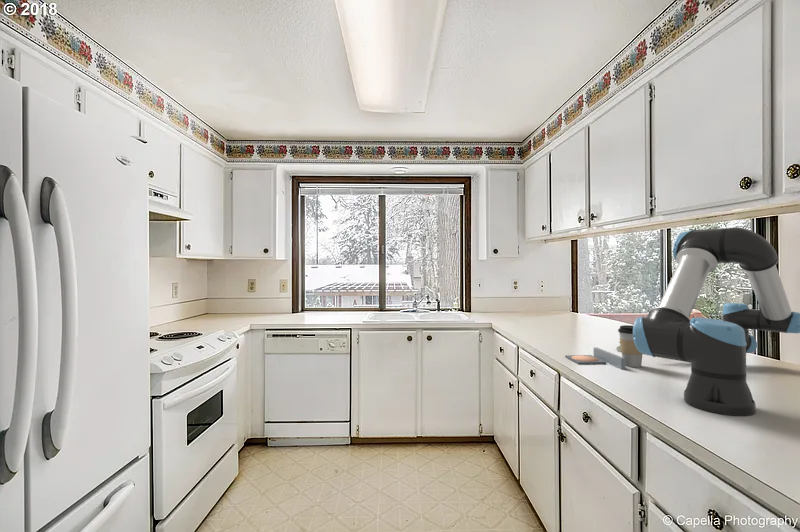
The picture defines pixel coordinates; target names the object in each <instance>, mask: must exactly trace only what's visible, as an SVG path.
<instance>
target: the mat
mask: <svg viewBox="0 0 800 532" xmlns="http://www.w3.org/2000/svg"><path fill="white" fill-rule="evenodd" d="M565 357H566V359H567V358H568V359H567V360H569V359H570V361H572V362H573V363H575V364H576V365H607V363H606V362H605V361H603V360H601V359H598V358H596V357H594V355H592V354H577V355H575V354H573V355H571V354H569V355H567V354H566V355H564V358H565Z"/></svg>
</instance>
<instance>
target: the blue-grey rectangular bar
mask: <svg viewBox="0 0 800 532" xmlns="http://www.w3.org/2000/svg"><path fill="white" fill-rule="evenodd" d="M593 356H594V357H596V358H598V359H601V360H603V361H605V362H607V363H606V364H608V363H609V364H608V365H610V366H613V367H615V368H617V369H619V368H620V370H626V366H625V358H623V357H622V356H620V355H617V354H615V353H612V352H610V351H607V350H604V349H602V348H600V347H593Z"/></svg>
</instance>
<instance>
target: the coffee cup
mask: <svg viewBox="0 0 800 532" xmlns="http://www.w3.org/2000/svg"><path fill="white" fill-rule="evenodd" d="M617 332H618V333H619V342H620V344H619V346H621V352H620V353H621V357H623V358H625V367H627V366H628V367H629V368H635V367H637V368H641V367H642V362H643V355H644V354H642V353H640V352H639V351H638V350H637V348H636V346H635V343H634V340H633V325H628V324H627V325H626V324H625V325H619V328H618V329H617Z"/></svg>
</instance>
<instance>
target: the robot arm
mask: <svg viewBox="0 0 800 532" xmlns="http://www.w3.org/2000/svg"><path fill="white" fill-rule="evenodd" d="M672 255H673V258H674V260H675V261H676V263H677V266H676V268H675V270H674V272H673V275H672V276H671V278H670V281H668V282H669V283H668V284H667V287H666V289H665V291H664V293H663V295H662V297H661V300H660V302H659V304H658V305H657V307H653V308H652V309H650V310H649V312H648V314H647V316H646V317H644V316H641V317H640V316H639V317H637V318H636V319H635V320H634V322H633V325H632V326H633V340H634V343H635V346H636V348H637V350H638V351H639V352H640V353H642V354H643V355H645V356H649V357H652V358H662V359H666V360H671V361H673V360H674V361H678V362H683V363H684V362H685V363H689V364H690V366H691V368H690V370H691V372H690V376H689V379H688V382H687V385H686V387H685V389H684V391H683V401H684V402H685V403H686V404H688V405H690V406H691V407H694V408H697V409H700V410H702V411H703V410H704V411H707V412H711V413H716V414H721V415H729V416H752V415H755V413H756V412H757V411H756V409H757V408H756V407H757V405H756V402H755V400H754V399H753V395H752V393H751V389H750V387H749V385H748V383H747V354H751V353H754V352H755V351H757V348H758V342H757V341H756V338H755V337H754V336H753V335H752V334H750V333H749V330H755V331H763V332H764V331H765V332H772V333H773V332H776V333H783V334H784V333H785V334H800V312H796V311H792V308H791V306H790V303H789V299H788V296H787V294H786V291H785V288H784V285H783V283H782V280H781V276H780V274H779V271H778V268H777V264H778V262H779V256H778V254H777V251H776V249H775V248H774V246H773V245H772V244H771V243H770V242H769V241H768V240H767V239H766V238H765V237H763V236H762V235H760V234H758V233H757V232H754V231H752V230H749V229H746V228H743V227H727V228H712V229H711V228H710V229H693V230H687V231H682V232H681V233H679V234H678V235H677V236H676V238H675V240H674V242H673V247H672ZM731 263H732V264H733V263H736V264H738V265H739V267H740V268H741V269H742V270H743V271H745V272H746V275H747V277H748V280H749V283H750V285H751V287H752V290H753V293H754V295H755V298H756V300H757V303H758V305H759V308H760V309H753V308H749V305H748V304H747V303H739V302H726V303H724V304H722V305H723V306H722V314H721V315H722V320H721V319H716V318H710V317H708V318H707V317H691V314H692V312H693V309H694V307H695V305H696V303H697V300H698V298H699V295H700V294H701V291H702V289H703V285H704V284H705V282H706V279H707V276H708V274H709V273H712V272H713V271H715V270H716V269H717V267H718V265H719V264H731ZM690 317H691V319H690Z"/></svg>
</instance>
